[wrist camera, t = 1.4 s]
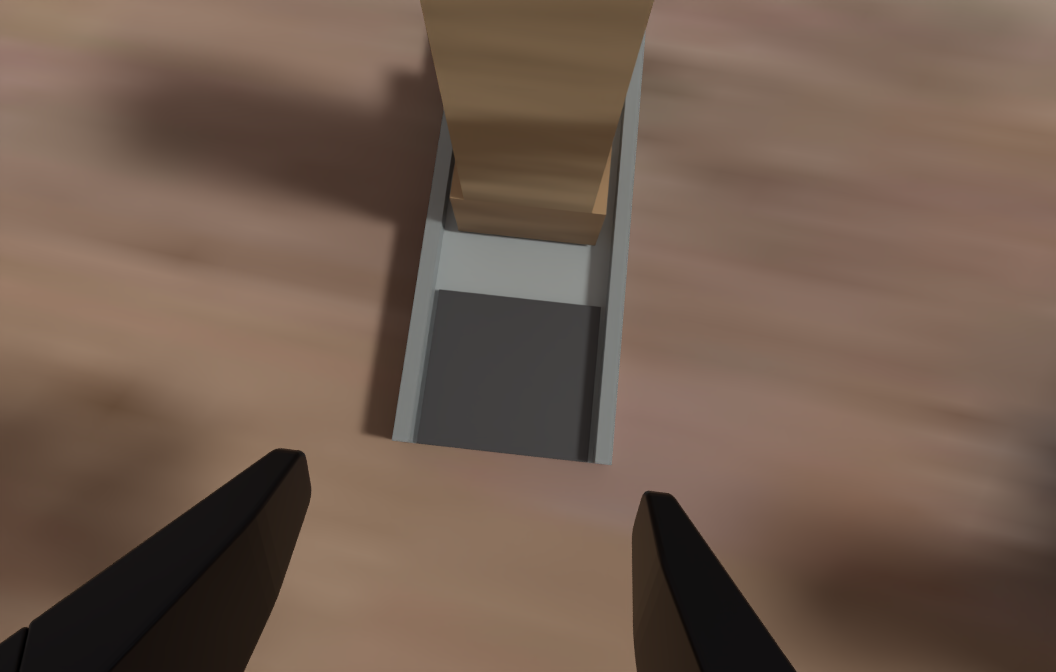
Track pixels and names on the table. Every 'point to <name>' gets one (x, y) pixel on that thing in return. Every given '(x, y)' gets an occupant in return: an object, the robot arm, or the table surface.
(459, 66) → the stepped wooden block
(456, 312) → the track
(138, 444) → the table surface
